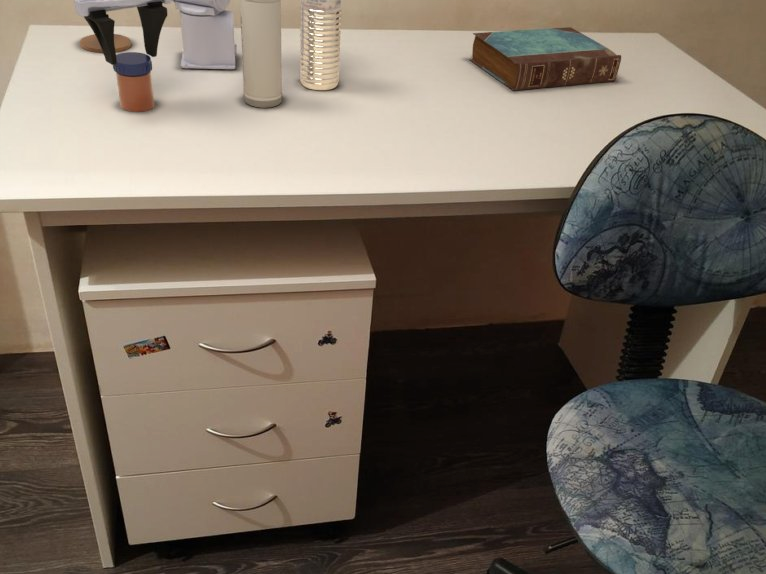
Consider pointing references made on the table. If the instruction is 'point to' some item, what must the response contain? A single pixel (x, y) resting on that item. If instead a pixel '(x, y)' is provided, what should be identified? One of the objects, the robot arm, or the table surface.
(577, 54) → the book
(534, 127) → the table surface
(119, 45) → the coaster
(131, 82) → the jar
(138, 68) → the lid
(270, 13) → the travel mug
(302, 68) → the water bottle
